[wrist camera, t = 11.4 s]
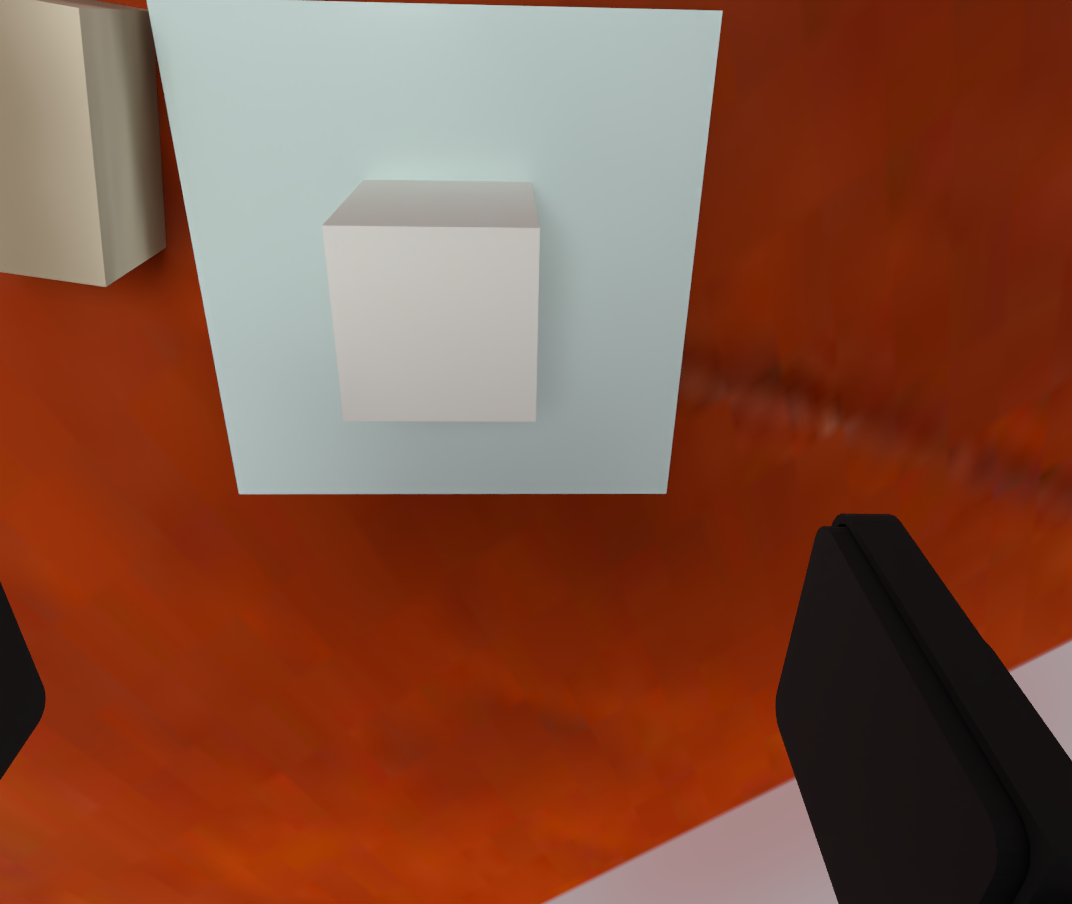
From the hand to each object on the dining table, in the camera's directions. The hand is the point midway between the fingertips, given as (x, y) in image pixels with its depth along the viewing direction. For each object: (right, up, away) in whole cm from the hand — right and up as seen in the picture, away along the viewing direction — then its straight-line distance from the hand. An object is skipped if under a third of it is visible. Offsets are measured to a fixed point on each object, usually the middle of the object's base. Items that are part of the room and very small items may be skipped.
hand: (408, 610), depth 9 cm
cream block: (-1, +7, +13) cm, 15 cm away
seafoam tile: (-1, +7, +14) cm, 16 cm away
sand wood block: (-11, +11, +12) cm, 19 cm away
